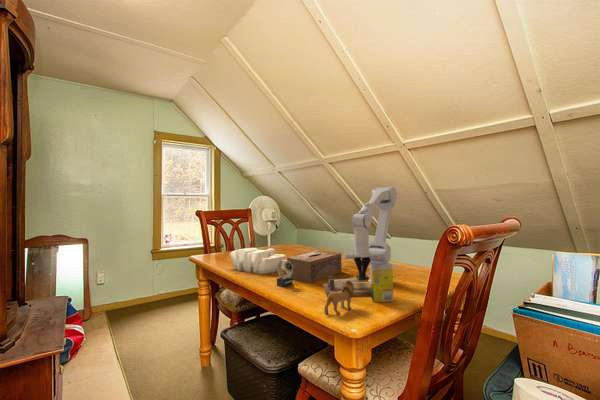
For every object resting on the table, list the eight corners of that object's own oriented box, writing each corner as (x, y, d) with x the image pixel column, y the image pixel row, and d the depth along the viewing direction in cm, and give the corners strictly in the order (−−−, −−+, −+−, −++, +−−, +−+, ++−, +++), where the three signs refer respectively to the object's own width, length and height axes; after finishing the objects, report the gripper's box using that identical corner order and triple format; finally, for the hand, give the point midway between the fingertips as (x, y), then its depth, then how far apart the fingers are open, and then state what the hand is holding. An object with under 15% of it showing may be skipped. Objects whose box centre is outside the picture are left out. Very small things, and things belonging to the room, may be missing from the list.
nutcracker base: (367, 286, 121) (367, 273, 121) (375, 295, 109) (375, 281, 109) (323, 287, 120) (323, 274, 120) (327, 296, 108) (326, 282, 108)
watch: (286, 288, 120) (286, 262, 120) (274, 284, 125) (274, 259, 125) (295, 285, 124) (295, 260, 124) (283, 281, 129) (283, 257, 129)
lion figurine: (344, 302, 102) (344, 277, 102) (357, 305, 99) (357, 280, 99) (320, 314, 91) (319, 287, 91) (333, 319, 88) (333, 290, 88)
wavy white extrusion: (223, 267, 159) (223, 249, 159) (244, 262, 173) (244, 245, 173) (269, 276, 139) (269, 255, 139) (289, 269, 153) (289, 250, 153)
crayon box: (391, 299, 105) (390, 267, 105) (393, 301, 102) (393, 269, 102) (371, 299, 105) (370, 268, 105) (373, 302, 102) (373, 270, 102)
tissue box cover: (319, 268, 155) (319, 250, 155) (341, 272, 146) (341, 253, 146) (287, 278, 136) (287, 257, 136) (310, 283, 127) (310, 261, 127)
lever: (329, 285, 112) (331, 271, 112) (327, 282, 116) (329, 268, 117) (367, 291, 112) (370, 277, 112) (364, 287, 117) (366, 274, 117)
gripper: (346, 244, 110) (346, 279, 110) (382, 244, 111) (382, 278, 111) (342, 242, 117) (343, 274, 117) (376, 241, 118) (377, 273, 118)
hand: (362, 276), depth 115 cm, fingers closed, pressing on lever
